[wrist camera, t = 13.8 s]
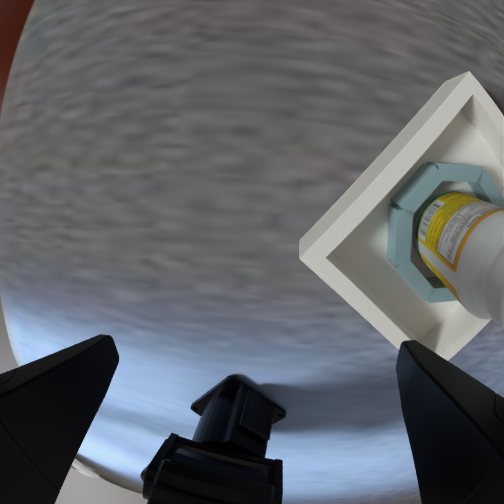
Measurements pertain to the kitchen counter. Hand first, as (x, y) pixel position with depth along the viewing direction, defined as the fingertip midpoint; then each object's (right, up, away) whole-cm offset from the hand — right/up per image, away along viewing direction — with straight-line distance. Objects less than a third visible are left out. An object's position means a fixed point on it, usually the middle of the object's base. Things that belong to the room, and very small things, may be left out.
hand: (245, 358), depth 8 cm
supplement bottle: (+13, +4, +9) cm, 16 cm away
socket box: (+13, +5, +9) cm, 16 cm away
